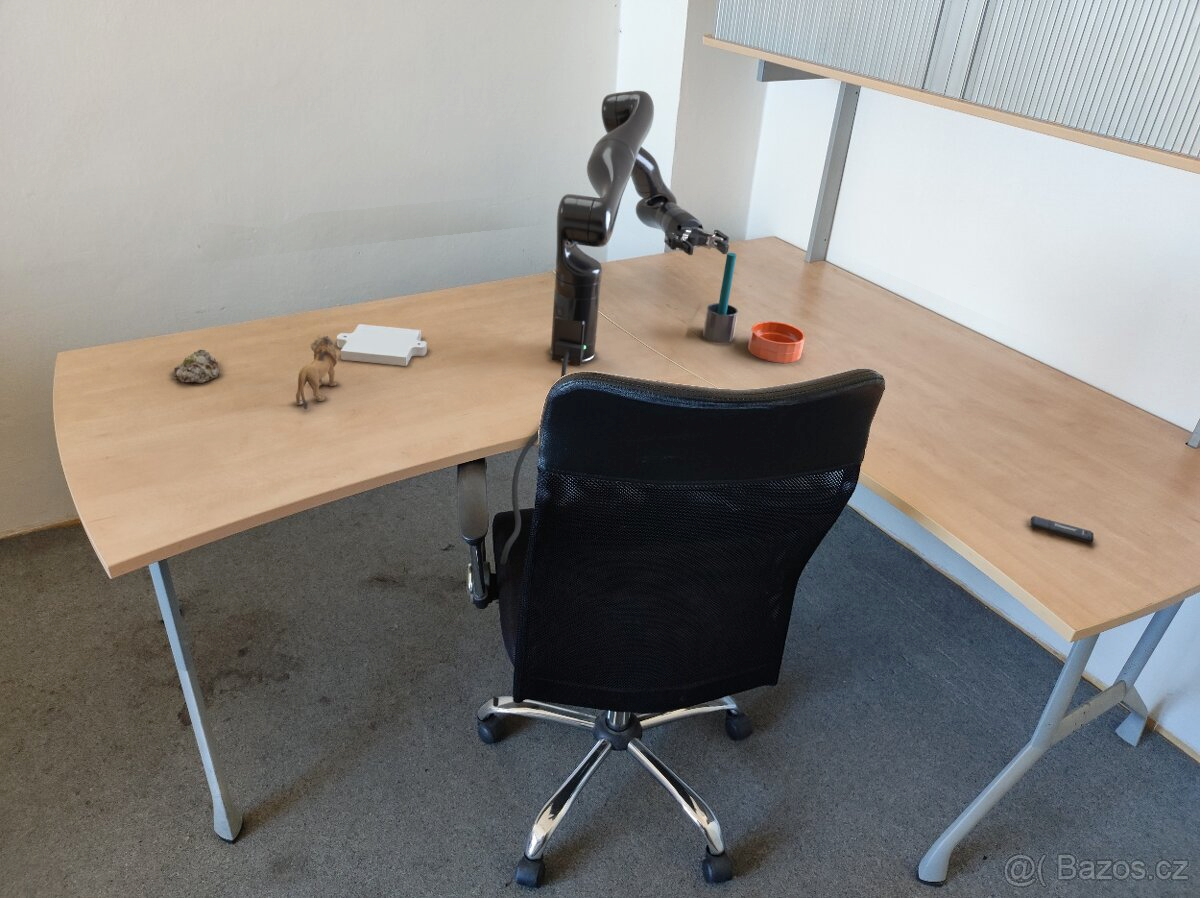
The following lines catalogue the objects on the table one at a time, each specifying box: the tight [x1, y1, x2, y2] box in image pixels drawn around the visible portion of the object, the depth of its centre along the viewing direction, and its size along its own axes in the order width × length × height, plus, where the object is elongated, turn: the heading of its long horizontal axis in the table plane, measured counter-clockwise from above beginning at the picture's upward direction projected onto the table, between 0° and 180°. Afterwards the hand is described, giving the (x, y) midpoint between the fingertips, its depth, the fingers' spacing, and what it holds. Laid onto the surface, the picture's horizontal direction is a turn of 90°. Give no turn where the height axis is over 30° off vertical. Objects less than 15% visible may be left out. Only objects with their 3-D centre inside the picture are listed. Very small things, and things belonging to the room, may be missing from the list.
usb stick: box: [1030, 515, 1095, 544], centre depth 145 cm, size 10×3×2 cm, turn 68°
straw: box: [717, 252, 737, 315], centre depth 195 cm, size 2×2×19 cm
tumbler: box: [702, 302, 739, 344], centre depth 198 cm, size 7×7×7 cm
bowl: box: [747, 320, 806, 364], centre depth 194 cm, size 12×12×5 cm
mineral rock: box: [173, 349, 220, 384], centre depth 165 cm, size 11×4×8 cm
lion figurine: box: [295, 334, 338, 410], centre depth 161 cm, size 15×5×9 cm, turn 179°
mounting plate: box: [336, 323, 428, 367], centre depth 180 cm, size 18×13×2 cm
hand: (709, 250), depth 200 cm, fingers open, 8 cm apart
